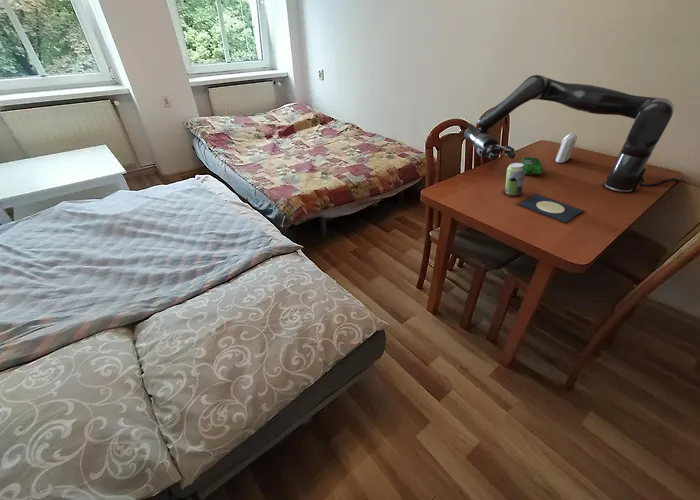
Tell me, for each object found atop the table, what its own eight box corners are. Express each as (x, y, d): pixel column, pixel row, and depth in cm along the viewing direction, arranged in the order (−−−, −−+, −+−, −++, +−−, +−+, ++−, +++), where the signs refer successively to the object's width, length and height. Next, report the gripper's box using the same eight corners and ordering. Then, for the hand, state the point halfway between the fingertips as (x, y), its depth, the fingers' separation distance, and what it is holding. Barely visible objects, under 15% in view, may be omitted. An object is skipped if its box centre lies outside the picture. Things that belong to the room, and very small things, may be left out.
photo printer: (560, 156, 163) (570, 131, 155) (570, 158, 160) (580, 132, 153) (553, 161, 157) (562, 135, 150) (563, 164, 154) (573, 137, 147)
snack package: (523, 177, 142) (527, 166, 139) (518, 164, 154) (521, 154, 151) (541, 179, 140) (545, 168, 137) (534, 166, 152) (538, 155, 149)
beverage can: (522, 197, 126) (531, 168, 119) (502, 196, 128) (510, 166, 121) (518, 190, 131) (527, 162, 124) (499, 189, 133) (507, 160, 126)
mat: (518, 204, 122) (518, 203, 121) (536, 195, 128) (536, 194, 128) (565, 223, 111) (565, 221, 110) (582, 211, 117) (583, 210, 117)
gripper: (471, 136, 142) (489, 148, 129) (502, 135, 144) (523, 146, 130) (468, 153, 147) (484, 166, 134) (498, 151, 148) (517, 164, 135)
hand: (503, 156), depth 132 cm, fingers open, 8 cm apart
